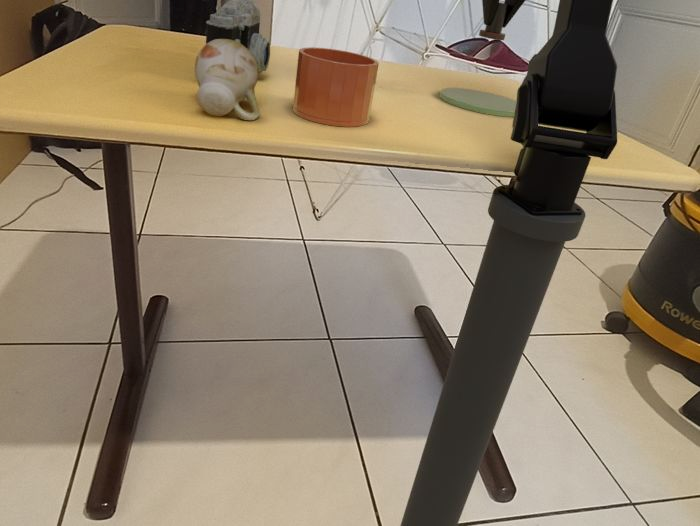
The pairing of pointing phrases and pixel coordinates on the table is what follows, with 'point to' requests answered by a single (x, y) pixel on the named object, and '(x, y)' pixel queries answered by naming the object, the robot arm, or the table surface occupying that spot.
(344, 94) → the cup
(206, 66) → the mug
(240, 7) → the camera
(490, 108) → the plate
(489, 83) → the table surface
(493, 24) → the grey flanged cylinder
